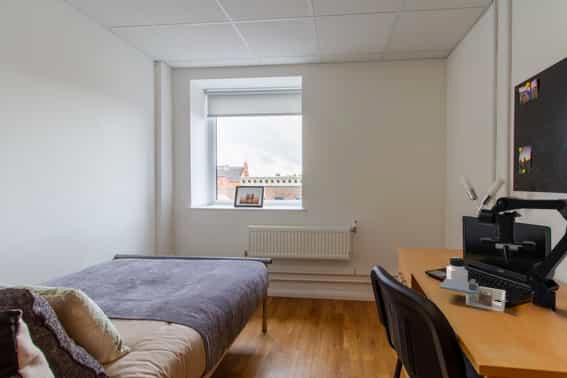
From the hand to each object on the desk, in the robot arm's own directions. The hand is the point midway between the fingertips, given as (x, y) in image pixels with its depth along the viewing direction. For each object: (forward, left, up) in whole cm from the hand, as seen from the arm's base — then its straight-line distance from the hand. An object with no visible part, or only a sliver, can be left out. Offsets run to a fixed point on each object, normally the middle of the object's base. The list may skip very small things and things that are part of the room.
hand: (506, 264), depth 132 cm
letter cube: (+6, +17, -12) cm, 21 cm away
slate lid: (+15, +16, -8) cm, 23 cm away
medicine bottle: (+19, -6, -13) cm, 24 cm away
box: (+6, +16, -13) cm, 21 cm away
